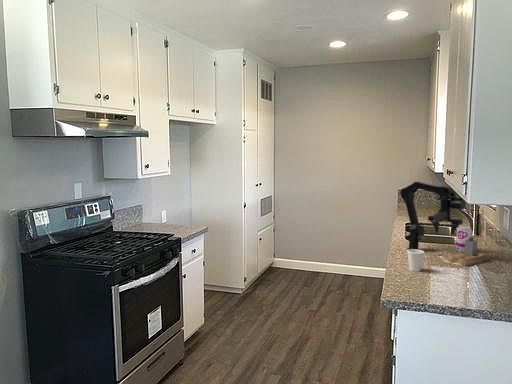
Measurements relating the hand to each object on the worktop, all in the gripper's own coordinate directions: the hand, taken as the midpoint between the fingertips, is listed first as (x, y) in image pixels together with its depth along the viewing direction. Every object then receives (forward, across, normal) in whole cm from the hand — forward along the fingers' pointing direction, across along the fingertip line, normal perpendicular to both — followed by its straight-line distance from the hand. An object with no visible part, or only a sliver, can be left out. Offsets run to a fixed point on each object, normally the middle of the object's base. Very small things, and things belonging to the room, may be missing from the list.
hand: (444, 234), depth 251 cm
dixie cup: (+13, +8, -39) cm, 42 cm away
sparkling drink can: (+13, 0, +22) cm, 26 cm away
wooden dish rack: (+13, +14, -1) cm, 19 cm away
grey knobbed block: (+12, +14, +4) cm, 19 cm away
